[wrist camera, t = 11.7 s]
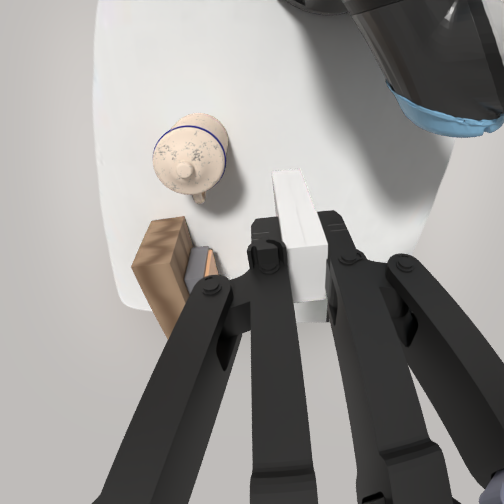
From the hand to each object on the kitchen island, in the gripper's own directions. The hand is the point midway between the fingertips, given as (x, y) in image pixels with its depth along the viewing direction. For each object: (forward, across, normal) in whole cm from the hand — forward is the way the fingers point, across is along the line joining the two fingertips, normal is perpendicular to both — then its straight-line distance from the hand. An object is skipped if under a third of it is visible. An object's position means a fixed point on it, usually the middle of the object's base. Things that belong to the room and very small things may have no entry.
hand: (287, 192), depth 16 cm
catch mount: (+28, -18, -26) cm, 43 cm away
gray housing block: (+27, -16, -26) cm, 41 cm away
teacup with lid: (+29, -10, -6) cm, 31 cm away
